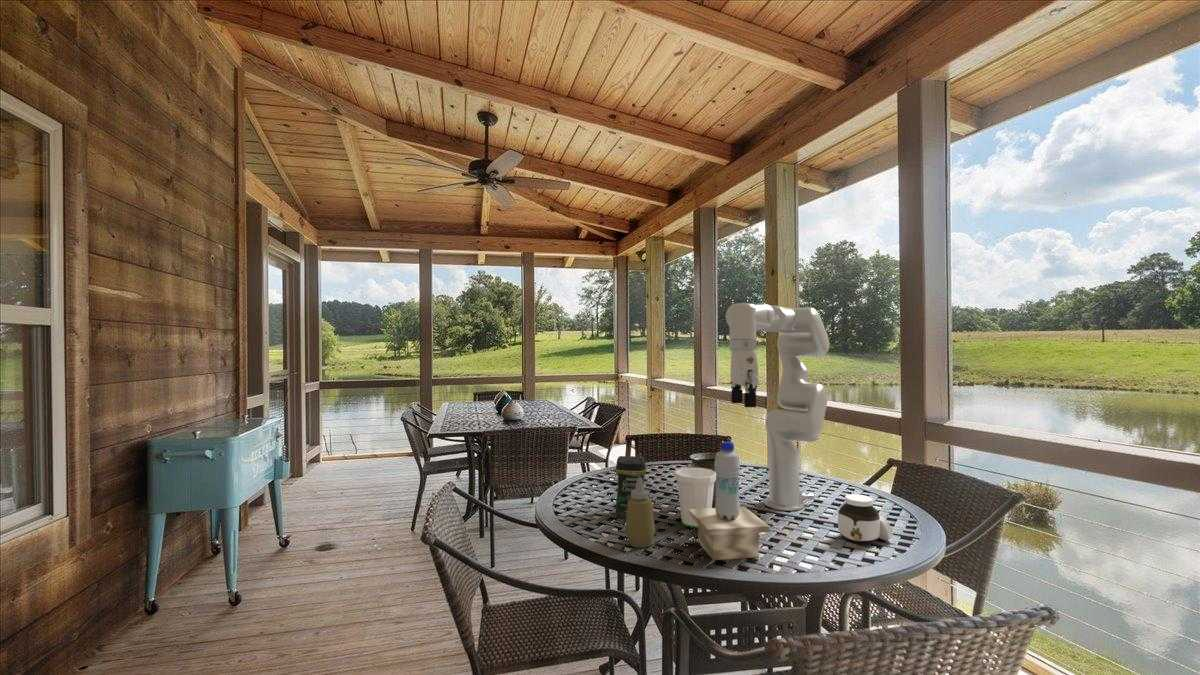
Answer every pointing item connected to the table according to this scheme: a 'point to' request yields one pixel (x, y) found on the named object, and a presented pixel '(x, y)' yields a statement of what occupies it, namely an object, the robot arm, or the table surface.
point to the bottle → (727, 481)
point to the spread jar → (862, 521)
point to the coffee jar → (627, 480)
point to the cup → (694, 491)
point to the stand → (729, 533)
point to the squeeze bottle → (640, 517)
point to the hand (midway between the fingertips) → (743, 404)
